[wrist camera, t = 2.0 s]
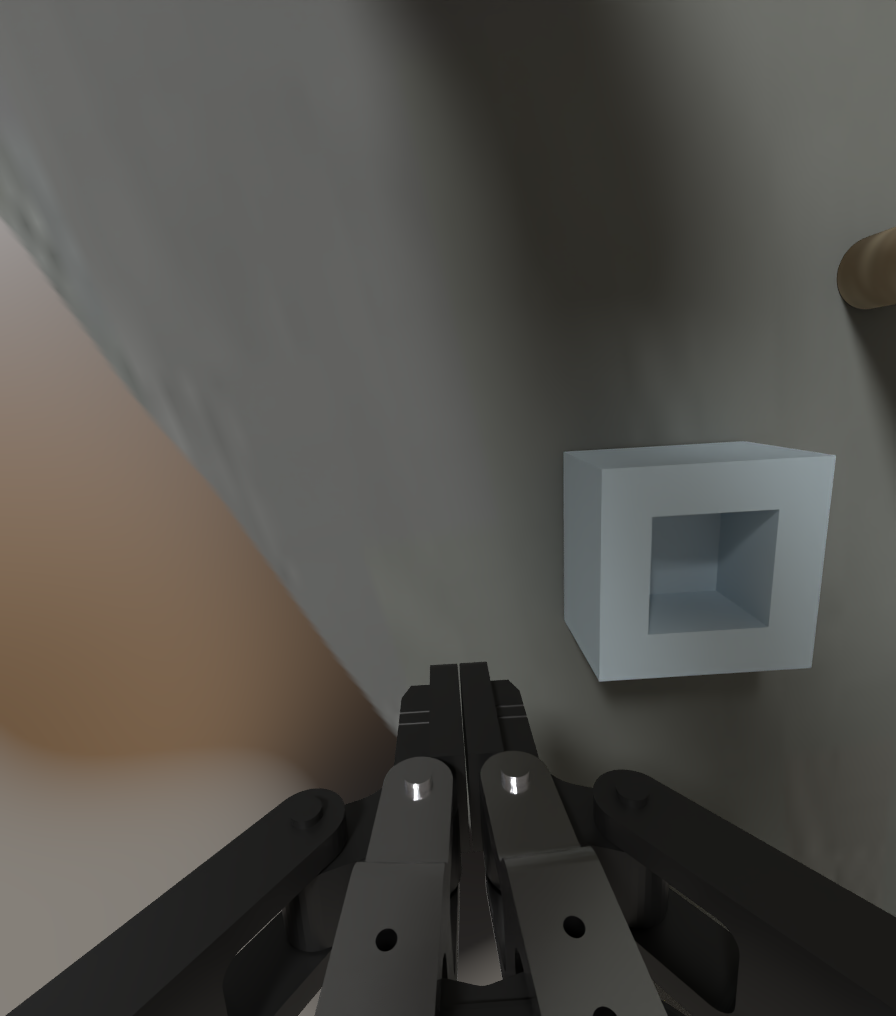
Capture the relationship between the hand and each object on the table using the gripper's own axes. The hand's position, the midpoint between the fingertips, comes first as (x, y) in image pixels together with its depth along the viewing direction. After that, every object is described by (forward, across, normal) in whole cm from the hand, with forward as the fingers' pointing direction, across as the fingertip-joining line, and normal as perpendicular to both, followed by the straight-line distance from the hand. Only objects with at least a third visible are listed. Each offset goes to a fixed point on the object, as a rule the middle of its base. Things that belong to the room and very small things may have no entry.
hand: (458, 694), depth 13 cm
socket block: (+13, -10, 0) cm, 17 cm away
